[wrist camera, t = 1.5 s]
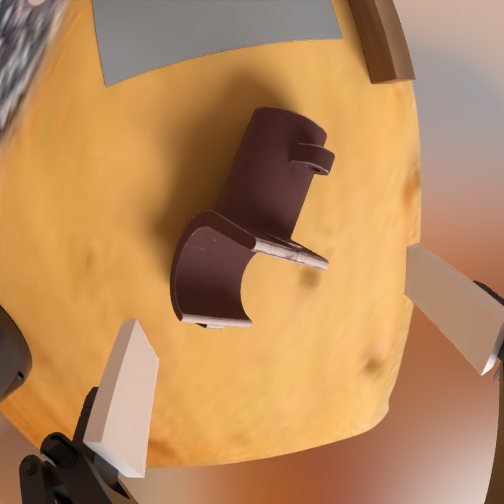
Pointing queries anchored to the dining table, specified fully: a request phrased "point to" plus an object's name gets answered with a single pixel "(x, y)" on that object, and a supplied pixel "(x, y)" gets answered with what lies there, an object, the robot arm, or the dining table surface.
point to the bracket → (249, 218)
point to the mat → (199, 29)
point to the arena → (382, 41)
